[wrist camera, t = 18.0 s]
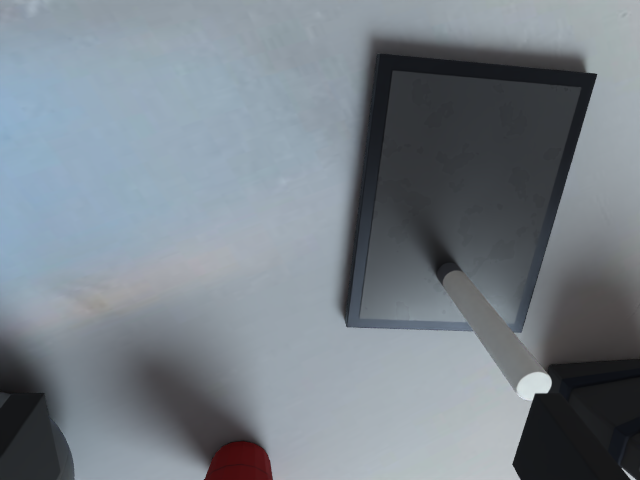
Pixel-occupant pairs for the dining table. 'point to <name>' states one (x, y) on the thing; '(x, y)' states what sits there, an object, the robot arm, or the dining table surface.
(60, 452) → the bowl
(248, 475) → the plastic cup
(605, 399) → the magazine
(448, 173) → the tablet
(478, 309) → the stylus
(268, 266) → the dining table surface
